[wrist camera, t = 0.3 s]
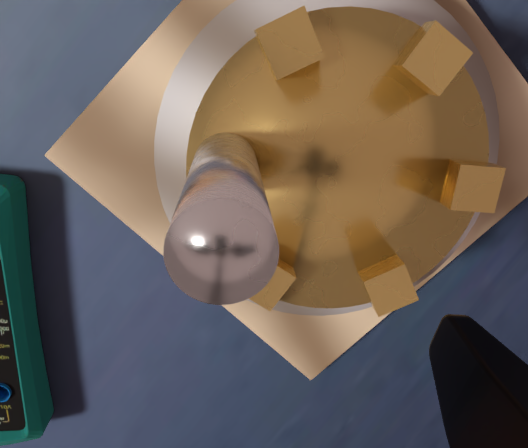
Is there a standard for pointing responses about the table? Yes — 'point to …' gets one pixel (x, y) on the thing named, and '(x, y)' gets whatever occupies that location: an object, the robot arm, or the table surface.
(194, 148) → the round base with post
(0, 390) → the digital multimeter
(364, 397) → the table surface
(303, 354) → the cap housing
